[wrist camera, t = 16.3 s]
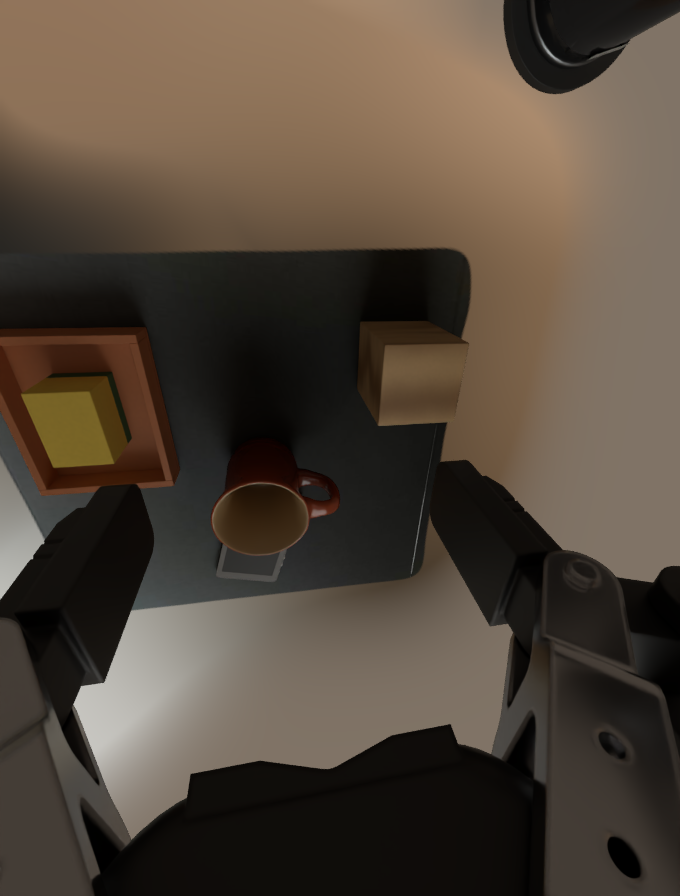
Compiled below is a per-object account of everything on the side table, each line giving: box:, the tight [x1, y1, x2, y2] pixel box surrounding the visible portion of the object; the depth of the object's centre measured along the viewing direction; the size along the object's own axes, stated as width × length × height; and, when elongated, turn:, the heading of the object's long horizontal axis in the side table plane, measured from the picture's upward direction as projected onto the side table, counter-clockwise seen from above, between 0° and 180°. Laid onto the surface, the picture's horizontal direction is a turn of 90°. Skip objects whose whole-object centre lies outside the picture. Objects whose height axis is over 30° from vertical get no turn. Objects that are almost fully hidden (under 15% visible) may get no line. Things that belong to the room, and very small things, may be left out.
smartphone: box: [216, 544, 287, 582], centre depth 46 cm, size 15×8×1 cm, turn 162°
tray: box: [0, 327, 180, 496], centre depth 34 cm, size 15×12×3 cm
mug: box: [211, 437, 340, 556], centre depth 37 cm, size 12×9×10 cm
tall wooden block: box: [357, 321, 469, 426], centre depth 34 cm, size 7×7×9 cm
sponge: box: [21, 372, 132, 468], centre depth 33 cm, size 7×5×5 cm
